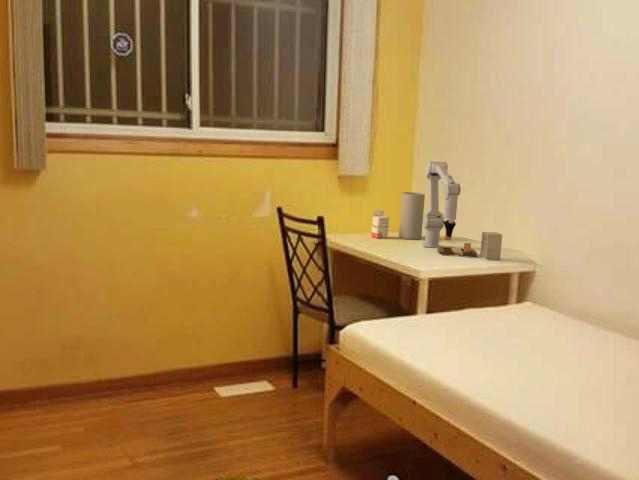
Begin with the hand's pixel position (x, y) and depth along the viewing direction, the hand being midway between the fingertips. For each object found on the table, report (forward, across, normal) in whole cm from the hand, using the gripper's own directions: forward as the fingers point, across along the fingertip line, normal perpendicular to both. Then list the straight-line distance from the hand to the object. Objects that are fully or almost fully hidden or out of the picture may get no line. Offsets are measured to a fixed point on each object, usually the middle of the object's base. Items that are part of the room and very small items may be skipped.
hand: (448, 236), depth 330 cm
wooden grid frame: (+9, -3, +5) cm, 11 cm away
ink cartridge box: (+9, -40, -33) cm, 52 cm away
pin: (+9, 0, +10) cm, 13 cm away
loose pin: (+2, 0, 0) cm, 2 cm away
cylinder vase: (+9, -46, -16) cm, 49 cm away
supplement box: (+9, +4, +20) cm, 23 cm away
